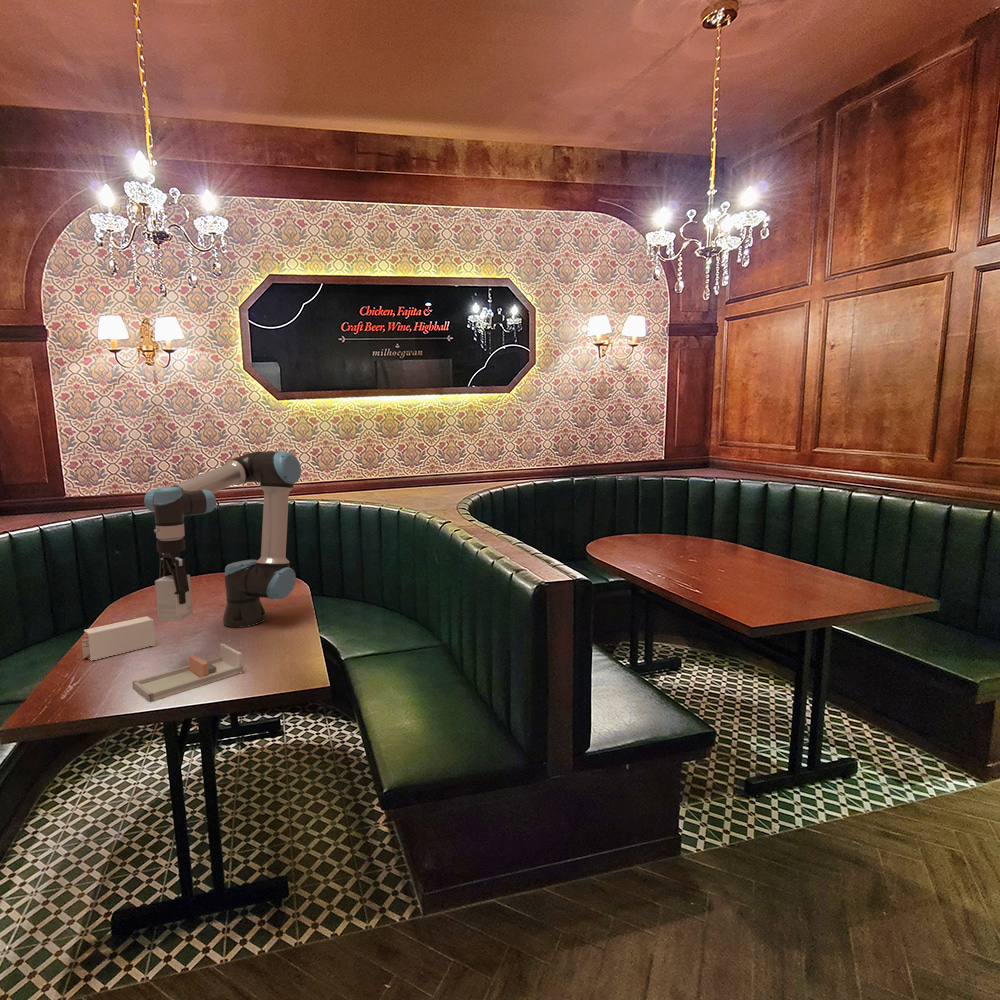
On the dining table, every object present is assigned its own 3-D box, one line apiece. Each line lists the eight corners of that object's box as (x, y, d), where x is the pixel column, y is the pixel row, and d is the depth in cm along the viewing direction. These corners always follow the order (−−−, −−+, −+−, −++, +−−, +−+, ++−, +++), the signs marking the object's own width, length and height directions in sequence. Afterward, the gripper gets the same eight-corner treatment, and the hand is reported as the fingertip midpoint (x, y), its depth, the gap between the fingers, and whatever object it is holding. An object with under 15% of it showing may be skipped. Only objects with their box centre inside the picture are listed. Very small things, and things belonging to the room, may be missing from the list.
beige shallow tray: (223, 661, 194) (222, 643, 194) (243, 672, 186) (242, 653, 185) (132, 688, 175) (131, 668, 175) (149, 701, 167) (147, 680, 166)
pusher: (206, 665, 189) (205, 651, 188) (220, 673, 182) (219, 659, 182) (189, 670, 185) (188, 656, 185) (203, 679, 179) (202, 664, 178)
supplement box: (193, 614, 191) (191, 574, 190) (181, 621, 184) (179, 580, 183) (169, 614, 191) (167, 574, 190) (156, 621, 184) (154, 580, 182)
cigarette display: (149, 642, 212) (147, 616, 211) (155, 646, 209) (153, 619, 207) (81, 659, 198) (79, 630, 197) (86, 663, 194) (84, 634, 193)
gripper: (143, 535, 190) (148, 606, 192) (171, 545, 174) (176, 621, 177) (169, 532, 195) (174, 601, 198) (198, 541, 180) (203, 615, 183)
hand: (175, 610), depth 187 cm, fingers closed on supplement box, 10 cm apart
